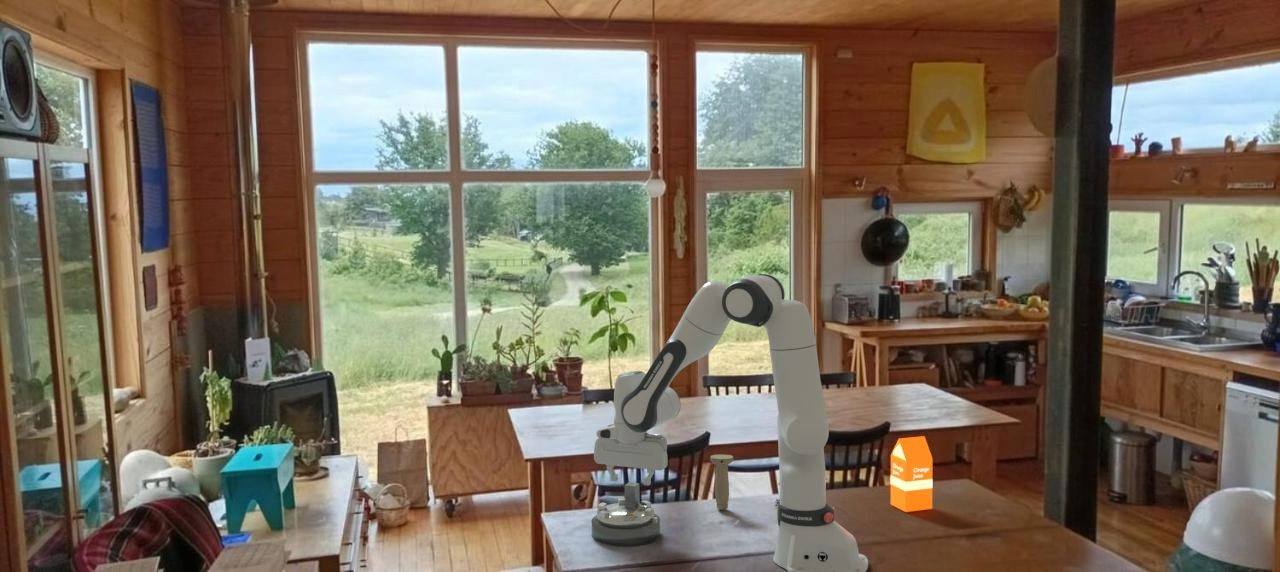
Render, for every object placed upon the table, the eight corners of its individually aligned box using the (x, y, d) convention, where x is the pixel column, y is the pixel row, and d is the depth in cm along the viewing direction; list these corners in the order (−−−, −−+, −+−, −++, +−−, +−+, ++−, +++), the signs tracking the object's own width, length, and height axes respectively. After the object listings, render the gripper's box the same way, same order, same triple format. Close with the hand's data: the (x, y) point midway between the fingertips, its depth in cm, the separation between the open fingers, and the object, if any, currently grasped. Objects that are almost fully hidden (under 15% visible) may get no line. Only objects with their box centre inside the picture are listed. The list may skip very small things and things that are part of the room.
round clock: (662, 513, 244) (662, 483, 243) (640, 531, 230) (640, 500, 229) (611, 507, 249) (611, 478, 249) (587, 524, 236) (586, 494, 235)
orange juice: (890, 504, 262) (890, 435, 261) (916, 500, 265) (917, 433, 264) (905, 512, 255) (906, 441, 254) (932, 508, 258) (933, 439, 256)
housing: (670, 528, 245) (669, 507, 244) (644, 550, 228) (644, 529, 228) (609, 520, 252) (608, 501, 251) (580, 541, 235) (579, 521, 235)
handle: (733, 511, 258) (733, 458, 257) (711, 510, 259) (710, 458, 258) (733, 505, 263) (732, 454, 262) (711, 505, 264) (710, 454, 263)
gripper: (671, 432, 241) (671, 484, 242) (601, 426, 249) (601, 475, 250) (662, 437, 235) (662, 490, 236) (591, 430, 243) (591, 481, 244)
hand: (630, 482), depth 243 cm, fingers open, 8 cm apart
